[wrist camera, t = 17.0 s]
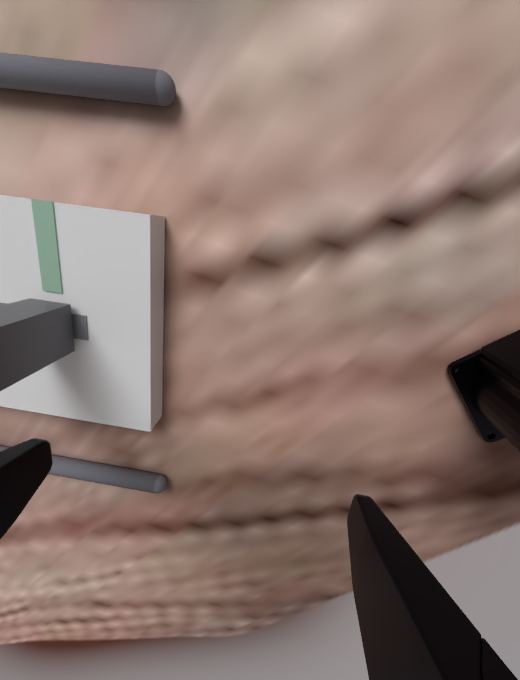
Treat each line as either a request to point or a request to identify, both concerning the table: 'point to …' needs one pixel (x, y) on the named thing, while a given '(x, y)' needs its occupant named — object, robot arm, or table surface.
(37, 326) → the breaker lever
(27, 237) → the breaker panel
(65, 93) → the pair of grey rods
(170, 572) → the table surface
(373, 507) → the robot arm
